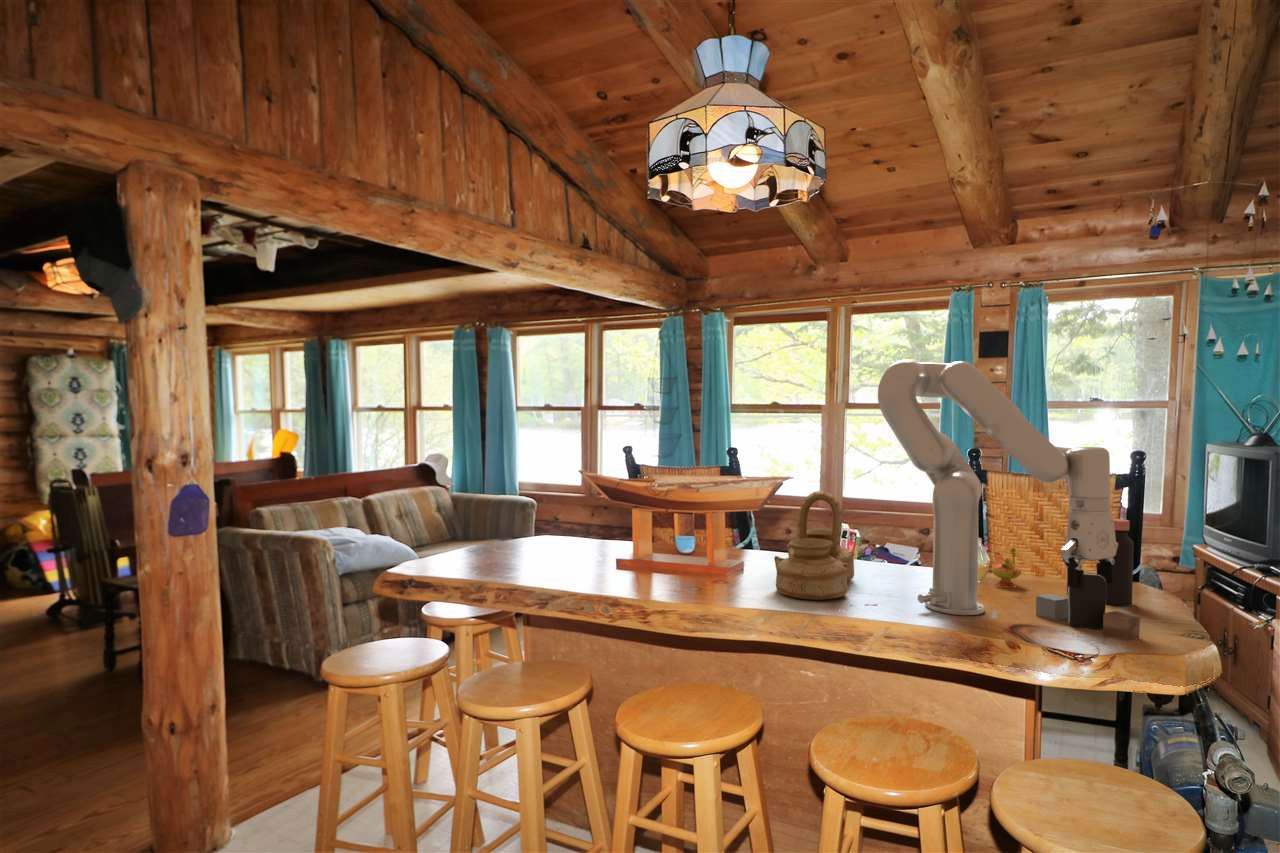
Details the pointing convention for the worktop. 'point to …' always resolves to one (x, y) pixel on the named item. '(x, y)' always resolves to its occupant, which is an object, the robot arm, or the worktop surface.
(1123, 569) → the bottle
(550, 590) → the worktop surface
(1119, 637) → the walnut block
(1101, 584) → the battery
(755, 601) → the worktop surface
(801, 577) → the ceramic vessel
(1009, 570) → the flower arrangement
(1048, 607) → the grey block
